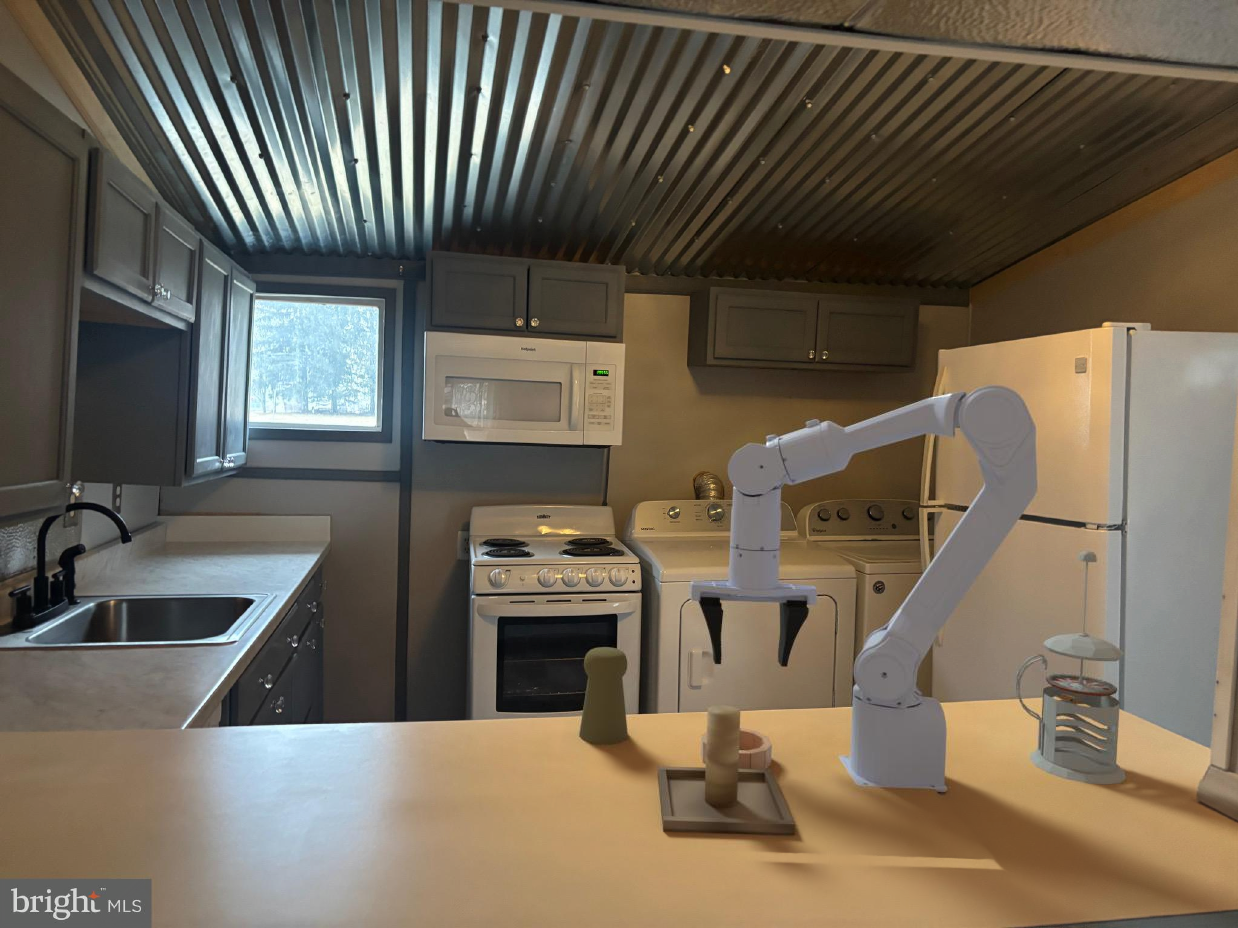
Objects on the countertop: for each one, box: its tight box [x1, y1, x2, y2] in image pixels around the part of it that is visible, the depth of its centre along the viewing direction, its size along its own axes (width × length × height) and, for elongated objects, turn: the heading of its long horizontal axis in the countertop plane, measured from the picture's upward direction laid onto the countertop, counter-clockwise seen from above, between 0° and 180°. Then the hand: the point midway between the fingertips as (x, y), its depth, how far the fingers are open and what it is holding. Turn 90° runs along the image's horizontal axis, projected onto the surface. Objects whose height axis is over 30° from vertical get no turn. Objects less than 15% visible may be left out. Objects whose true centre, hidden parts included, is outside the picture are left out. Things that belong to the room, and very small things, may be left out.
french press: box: [1014, 550, 1127, 785], centre depth 93 cm, size 10×12×25 cm
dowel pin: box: [705, 704, 741, 808], centre depth 80 cm, size 3×3×9 cm
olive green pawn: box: [578, 646, 629, 746], centre depth 97 cm, size 6×6×11 cm
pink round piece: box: [700, 727, 773, 770], centre depth 91 cm, size 8×8×3 cm
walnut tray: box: [657, 765, 796, 837], centre depth 80 cm, size 12×12×2 cm
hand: (749, 662), depth 94 cm, fingers open, 7 cm apart
